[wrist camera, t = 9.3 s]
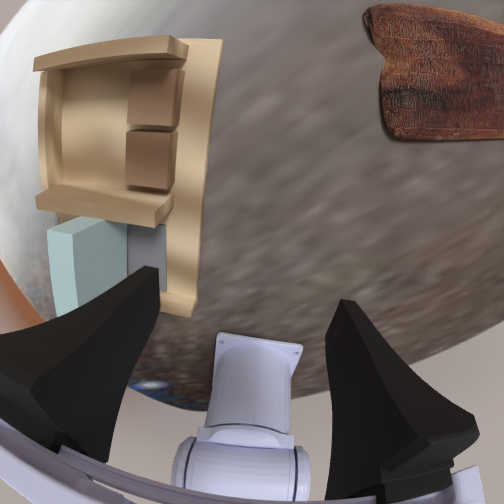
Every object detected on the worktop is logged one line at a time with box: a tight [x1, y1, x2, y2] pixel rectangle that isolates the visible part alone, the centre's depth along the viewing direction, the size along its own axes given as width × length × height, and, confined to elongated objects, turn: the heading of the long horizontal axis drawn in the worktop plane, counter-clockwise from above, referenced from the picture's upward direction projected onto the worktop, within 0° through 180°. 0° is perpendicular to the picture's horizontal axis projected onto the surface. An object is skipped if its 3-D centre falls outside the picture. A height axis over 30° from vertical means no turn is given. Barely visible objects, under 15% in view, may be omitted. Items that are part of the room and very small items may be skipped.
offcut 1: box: [127, 69, 185, 126], centre depth 15 cm, size 4×3×2 cm
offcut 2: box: [125, 129, 178, 189], centre depth 17 cm, size 4×3×2 cm
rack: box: [33, 35, 224, 318], centre depth 17 cm, size 20×13×4 cm, turn 172°
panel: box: [47, 216, 128, 317], centre depth 18 cm, size 8×2×7 cm, turn 172°
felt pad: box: [78, 216, 167, 292], centre depth 22 cm, size 6×8×1 cm
